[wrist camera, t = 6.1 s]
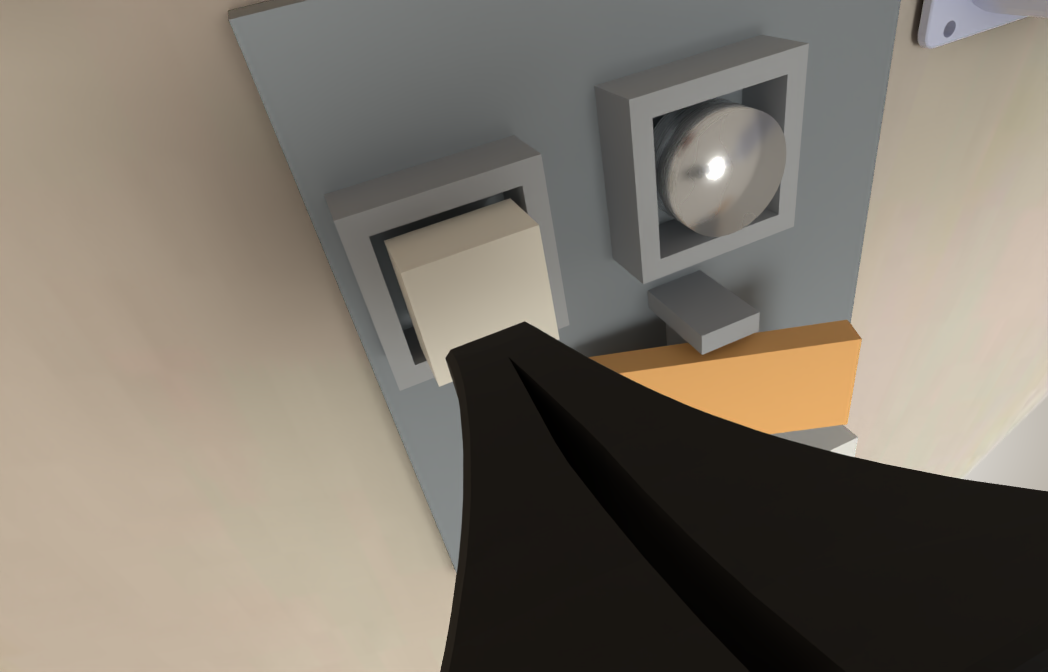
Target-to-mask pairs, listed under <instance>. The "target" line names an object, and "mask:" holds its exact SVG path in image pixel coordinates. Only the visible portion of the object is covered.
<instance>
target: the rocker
mask: <svg viewBox="0 0 1048 672" xmlns="http://www.w3.org/2000/svg"><path fill="white" fill-rule="evenodd" d="M861 341H862V339H861V337H860V336H859V335H858V333H857V332H856V331H855V329H854V328H853V327H852V325H851V324H850V322H849V321H848V320H841V321H834V322H827V323H820V324H813V325H806V326H799V327H792V328H786V329H779V330H772V331H765V332H758V333H753V334H751V335H749V336H746V337H744V338H741V339H739V340H737V341H734V342H732V343H729V344H727V345H725V346H722V347H720V348H718V349H715V350H713V351H710V352H708V353H706V354H703V355H702V354H700V353H699V352H698V351H697V350H696V349H695V348H694V347H692V346H691V345H690V344H689V343H682V344H675V345H669V346H662V347H655V348H648V349H641V350H634V351H627V352H620V353H614V354H607V355H600V356H593V357H589V358H590V359H592V360H594V361H596V362H598V363H600V364H602V365H603V366H605V367H607V368H609V369H611V370H613V371H615V372H617V373H619V374H621V375H623V376H625V377H627V378H629V379H631V380H633V381H635V382H637V383H639V384H641V385H643V386H645V387H648V388H650V389H652V390H654V391H656V392H658V393H661V394H663V395H665V396H667V397H670V398H672V399H674V400H677V401H679V402H681V403H683V404H686V405H688V406H691V407H693V408H696V409H698V410H701V411H704V412H706V413H709V414H711V415H714V416H717V417H720V418H723V419H726V420H729V421H732V422H734V423H737V424H740V425H743V426H746V427H749V428H752V429H755V430H758V431H761V432H764V433H767V434H776V433H784V432H791V431H799V430H807V429H814V428H822V427H830V426H837V425H845V424H847V422H848V416H849V410H850V405H851V399H852V393H853V387H854V381H855V375H856V370H857V364H858V358H859V352H860V346H861Z"/></svg>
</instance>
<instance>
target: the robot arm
mask: <svg viewBox="0 0 1048 672" xmlns="http://www.w3.org/2000/svg"><path fill="white" fill-rule="evenodd" d="M1026 17H1039V18H1048V0H924V2H923V8H922V13H921V19H920V25H919V30H918V43H919V45H920V46H921V47H924V48H936V47H939V46H942V45H945V44H948V43H951V42H954V41H957V40H960V39H963V38H966V37H969V36H972V35H975V34H978V33H981V32H984V31H987V30H990V29H993V28H996V27H999V26H1002V25H1005V24H1008V23H1011V22H1014V21H1017V20H1020V19H1023V18H1026ZM445 359H446V362H447V365H448V368H449V372H450V375H451V378H452V381H453V384H454V387H455V390H456V393H457V397H458V400H459V407H460V417H461V428H462V440H463V508H462V525H461V537H460V548H459V559H458V568H457V575H456V582H455V590H454V597H453V604H452V612H451V618H450V624H449V630H448V636H447V641H446V647H445V652H444V656H443V661H442V666H441V671H440V672H1048V491H1041V490H1034V489H1027V488H1020V487H1013V486H1006V485H999V484H992V483H984V482H977V481H971V480H964V479H959V478H953V477H947V476H942V475H937V474H932V473H927V472H922V471H917V470H912V469H907V468H902V467H897V466H892V465H886V464H882V463H878V462H873V461H869V460H865V459H860V458H856V457H851V456H847V455H843V454H839V453H835V452H832V451H828V450H824V449H820V448H817V447H813V446H809V445H806V444H802V443H798V442H794V441H791V440H787V439H784V438H780V437H777V436H774V435H771V434H767V433H764V432H761V431H758V430H755V429H752V428H749V427H746V426H743V425H740V424H737V423H734V422H732V421H729V420H726V419H723V418H720V417H717V416H714V415H711V414H709V413H706V412H704V411H701V410H698V409H696V408H693V407H691V406H688V405H686V404H683V403H681V402H679V401H677V400H674V399H672V398H670V397H667V396H665V395H663V394H661V393H658V392H656V391H654V390H652V389H650V388H648V387H645V386H643V385H641V384H639V383H637V382H635V381H633V380H631V379H629V378H627V377H625V376H623V375H621V374H619V373H617V372H615V371H613V370H611V369H609V368H607V367H605V366H603V365H602V364H600V363H598V362H596V361H594V360H592V359H590V358H589V357H587V356H585V355H583V354H581V353H580V352H578V351H576V350H574V349H573V348H571V347H569V346H567V345H565V344H564V343H562V342H560V341H559V340H557V339H555V338H553V337H552V336H550V335H548V334H547V333H545V332H543V331H542V330H540V329H538V328H536V327H535V326H533V325H531V324H529V323H527V322H525V321H524V322H522V323H519V324H516V325H514V326H511V327H508V328H506V329H503V330H501V331H498V332H495V333H493V334H490V335H487V336H485V337H482V338H480V339H477V340H474V341H472V342H469V343H466V344H464V345H461V346H459V347H456V348H453V349H451V350H450V351H449V353H448V355H447V356H446V358H445Z"/></svg>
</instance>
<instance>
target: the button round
mask: <svg viewBox="0 0 1048 672" xmlns="http://www.w3.org/2000/svg"><path fill="white" fill-rule="evenodd" d="M653 135H654V153H655V170H656V188H657V205H658V209H660V210H661V211H663V212H665V213H666V214H668V215H669V216H671V217H673V218H674V219H676V220H677V221H679V222H680V223H682V224H684V225H685V226H687V227H688V228H690V229H692V230H693V231H695V232H697V233H699V234H701V235H704V236H709V237H720V236H726V235H729V234H732V233H734V232H737V231H739V230H740V229H742V228H744V227H746V226H747V225H748V224H750V223H751V222H752V221H753V220H755V219H756V218H757V217H758V216H759V215H760V214H761V213H762V212H763V211H764V209H765V208H766V207H767V205H768V204H769V203H770V201H771V200H772V198H773V197H774V195H775V193H776V191H777V189H778V187H779V185H780V182H781V180H782V177H783V174H784V169H785V165H786V141H785V137H784V134H783V131H782V129H781V127H780V126H779V124H778V123H777V121H776V120H775V119H774V118H773V117H771V116H770V115H769V114H767V113H765V112H763V111H760V110H757V109H754V108H751V107H748V106H745V105H742V104H739V103H735V102H732V101H729V100H726V99H723V98H720V97H716V98H713V99H709V100H706V101H703V102H700V103H697V104H694V105H691V106H688V107H685V108H682V109H679V110H675V111H672V112H669V113H666V114H665V115H664V116H663V118H662V119H661V120H660V121H659V122H658V124H657V125H656V127H655V128H654V130H653Z"/></svg>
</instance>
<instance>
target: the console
mask: <svg viewBox="0 0 1048 672" xmlns="http://www.w3.org/2000/svg"><path fill="white" fill-rule="evenodd" d="M900 2H901V0H270V1H266V2H262V3H258V4H254V5H249V6H245V7H241V8H237V9H233V10H229V11H228V14H229V22H230V24H231V27H232V29H233V32H234V34H235V36H236V39H237V41H238V44H239V46H240V49H241V51H242V53H243V56H244V58H245V61H246V63H247V66H248V68H249V70H250V73H251V75H252V78H253V80H254V83H255V85H256V87H257V90H258V92H259V95H260V97H261V100H262V102H263V104H264V107H265V109H266V112H267V114H268V117H269V119H270V121H271V124H272V126H273V129H274V131H275V134H276V136H277V138H278V141H279V143H280V146H281V148H282V151H283V153H284V155H285V158H286V160H287V163H288V165H289V167H290V170H291V172H292V175H293V177H294V180H295V182H296V184H297V187H298V189H299V192H300V194H301V197H302V199H303V201H304V204H305V206H306V209H307V211H308V214H309V216H310V218H311V221H312V223H313V226H314V228H315V231H316V233H317V235H318V238H319V240H320V243H321V245H322V248H323V250H324V252H325V255H326V257H327V260H328V262H329V265H330V267H331V269H332V272H333V274H334V277H335V279H336V282H337V284H338V286H339V289H340V291H341V294H342V296H343V299H344V301H345V303H346V306H347V308H348V311H349V313H350V316H351V318H352V320H353V323H354V325H355V328H356V330H357V332H358V335H359V337H360V340H361V342H362V345H363V347H364V349H365V352H366V354H367V357H368V359H369V362H370V364H371V366H372V369H373V371H374V374H375V376H376V379H377V381H378V383H379V386H380V388H381V391H382V393H383V396H384V398H385V400H386V403H387V405H388V408H389V410H390V413H391V415H392V417H393V420H394V422H395V425H396V427H397V430H398V432H399V434H400V437H401V439H402V442H403V444H404V447H405V449H406V451H407V454H408V456H409V459H410V461H411V464H412V466H413V468H414V471H415V473H416V476H417V478H418V481H419V483H420V485H421V488H422V490H423V493H424V495H425V497H426V500H427V502H428V505H429V507H430V510H431V512H432V514H433V517H434V519H435V522H436V524H437V527H438V529H439V531H440V534H441V536H442V539H443V541H444V544H445V546H446V548H447V551H448V553H449V556H450V558H451V561H452V563H453V565H454V568H455V570H456V573H457V568H458V559H459V548H460V537H461V525H462V508H463V440H462V428H461V417H460V407H459V400H458V397H457V393H456V390H455V387H454V384H453V382H450V383H448V384H445V385H443V386H440V387H439V385H438V383H437V381H436V379H435V377H434V375H433V373H432V371H431V368H430V366H429V364H428V362H427V360H426V358H425V356H424V354H423V351H422V349H421V347H420V344H419V341H418V338H417V335H416V332H415V329H414V327H413V324H412V321H411V318H410V315H409V312H408V309H407V306H406V303H405V300H404V298H403V295H402V292H401V289H400V286H399V283H398V280H397V277H396V274H395V271H394V269H393V266H392V263H391V260H390V257H389V254H388V251H387V248H386V245H385V242H384V240H387V239H390V238H393V237H396V236H399V235H402V234H405V233H408V232H411V231H414V230H417V229H420V228H423V227H426V226H429V225H432V224H435V223H438V222H441V221H444V220H447V219H450V218H453V217H456V216H459V215H462V214H465V213H468V212H471V211H474V210H477V209H480V208H483V207H486V206H489V205H492V204H495V203H498V202H500V201H503V200H506V199H509V198H511V199H512V200H513V201H514V202H515V203H516V204H517V205H518V206H519V207H520V208H521V209H522V210H524V211H525V212H526V213H527V214H528V215H529V216H530V217H531V218H532V219H533V220H534V221H535V222H536V223H538V224H539V228H540V233H541V239H542V244H543V250H544V255H545V261H546V266H547V272H548V278H549V283H550V289H551V294H552V300H553V305H554V311H555V316H556V322H557V328H558V333H559V339H560V340H559V341H560V342H562V343H564V344H565V345H567V346H569V347H571V348H573V349H574V350H576V351H578V352H580V353H581V354H583V355H585V356H587V357H593V356H600V355H607V354H614V353H620V352H627V351H634V350H641V349H648V348H655V347H662V346H669V345H675V344H682V343H689V344H690V345H691V346H692V347H694V348H695V349H696V350H697V351H698V352H699V353H700V354H702V355H703V354H706V353H708V352H710V351H713V350H715V349H718V348H720V347H722V346H725V345H727V344H729V343H732V342H734V341H737V340H739V339H741V338H744V337H746V336H749V335H751V334H753V333H758V332H765V331H772V330H779V329H786V328H792V327H799V326H806V325H813V324H820V323H827V322H834V321H841V320H848V321H849V322H850V323H851V317H852V310H853V304H854V297H855V291H856V285H857V278H858V272H859V265H860V259H861V252H862V246H863V240H864V233H865V227H866V220H867V214H868V207H869V201H870V195H871V188H872V182H873V175H874V169H875V163H876V156H877V150H878V143H879V137H880V130H881V124H882V118H883V111H884V105H885V98H886V92H887V85H888V79H889V73H890V66H891V60H892V53H893V47H894V40H895V34H896V28H897V21H898V15H899V8H900ZM716 97H720V98H723V99H726V100H729V101H732V102H735V103H739V104H742V105H745V106H748V107H751V108H754V109H757V110H760V111H763V112H765V113H767V114H769V115H770V116H771V117H773V118H774V119H775V120H776V121H777V123H778V124H779V126H780V127H781V129H782V131H783V134H784V137H785V141H786V165H785V169H784V174H783V177H782V180H781V182H780V185H779V187H778V189H777V191H776V193H775V195H774V197H773V198H772V200H771V201H770V203H769V204H768V205H767V207H766V208H765V209H764V211H763V212H762V213H761V214H760V215H759V216H758V217H757V218H756V219H755V220H753V221H752V222H751V223H750V224H748V225H747V226H746V227H744V228H742V229H740V230H739V231H737V232H734V233H732V234H729V235H726V236H720V237H709V236H704V235H701V234H699V233H697V232H695V231H693V230H692V229H690V228H688V227H687V226H685V225H684V224H682V223H680V222H679V221H677V220H676V219H674V218H673V217H671V216H669V215H668V214H666V213H665V212H663V211H661V210H660V209H658V205H657V188H656V170H655V153H654V135H653V130H654V128H655V127H656V125H657V124H658V122H659V121H660V120H661V119H662V118H663V116H664V115H665V114H666V113H669V112H672V111H675V110H679V109H682V108H685V107H688V106H691V105H694V104H697V103H700V102H703V101H706V100H709V99H713V98H716Z"/></svg>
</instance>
